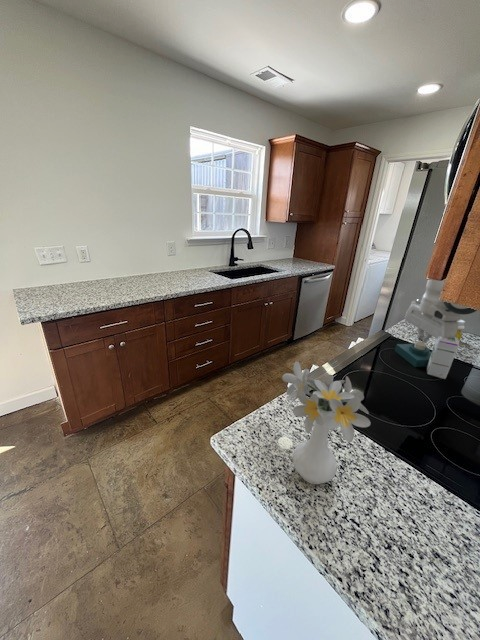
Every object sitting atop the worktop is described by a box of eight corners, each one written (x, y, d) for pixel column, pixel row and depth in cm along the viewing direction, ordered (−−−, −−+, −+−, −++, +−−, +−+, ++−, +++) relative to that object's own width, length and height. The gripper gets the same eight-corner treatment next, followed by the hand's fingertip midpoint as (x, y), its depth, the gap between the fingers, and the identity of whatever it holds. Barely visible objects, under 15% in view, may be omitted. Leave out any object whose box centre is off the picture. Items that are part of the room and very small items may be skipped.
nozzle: (427, 350, 102) (428, 345, 101) (418, 350, 101) (420, 346, 100) (420, 345, 105) (421, 341, 104) (411, 346, 104) (413, 341, 104)
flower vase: (295, 430, 69) (308, 347, 59) (362, 484, 57) (393, 390, 46) (259, 457, 62) (267, 367, 52) (327, 526, 49) (355, 425, 39)
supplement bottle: (461, 341, 120) (470, 322, 116) (454, 343, 118) (462, 323, 114) (449, 336, 124) (456, 317, 120) (442, 337, 122) (449, 318, 118)
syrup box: (445, 379, 92) (461, 343, 86) (426, 374, 95) (439, 338, 89) (444, 371, 97) (459, 336, 91) (425, 366, 100) (438, 332, 94)
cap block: (439, 366, 100) (443, 355, 98) (415, 367, 99) (419, 355, 97) (416, 350, 111) (420, 339, 109) (394, 350, 110) (397, 340, 108)
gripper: (406, 298, 105) (396, 329, 110) (449, 318, 86) (435, 355, 92) (420, 297, 106) (410, 329, 111) (466, 318, 87) (451, 354, 93)
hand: (422, 341), depth 101 cm, fingers closed
